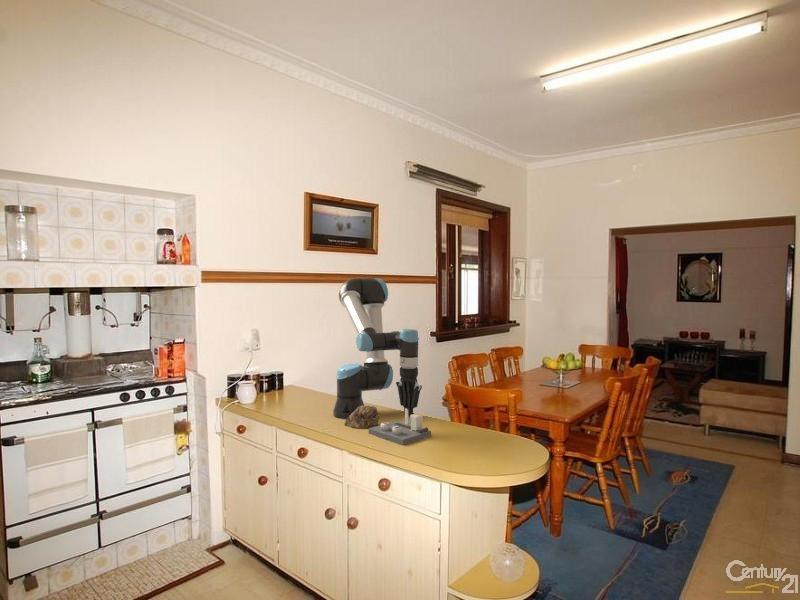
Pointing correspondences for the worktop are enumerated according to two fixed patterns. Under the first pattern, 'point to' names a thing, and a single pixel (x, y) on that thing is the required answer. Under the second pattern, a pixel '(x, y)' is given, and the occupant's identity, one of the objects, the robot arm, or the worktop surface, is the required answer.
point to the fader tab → (416, 421)
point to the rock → (363, 417)
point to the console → (399, 432)
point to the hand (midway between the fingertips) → (408, 423)
